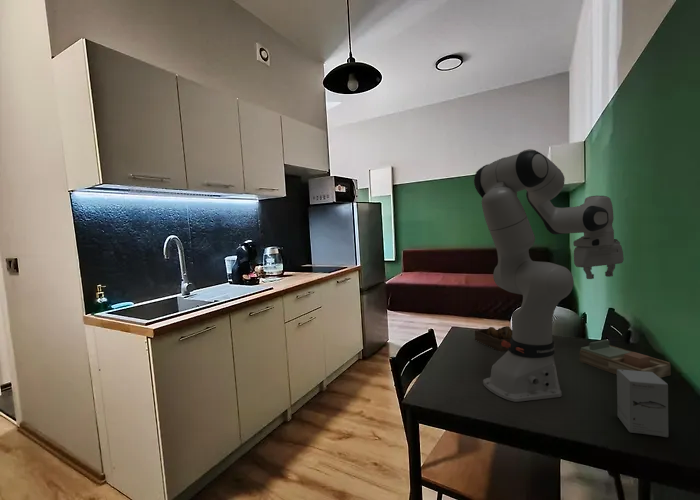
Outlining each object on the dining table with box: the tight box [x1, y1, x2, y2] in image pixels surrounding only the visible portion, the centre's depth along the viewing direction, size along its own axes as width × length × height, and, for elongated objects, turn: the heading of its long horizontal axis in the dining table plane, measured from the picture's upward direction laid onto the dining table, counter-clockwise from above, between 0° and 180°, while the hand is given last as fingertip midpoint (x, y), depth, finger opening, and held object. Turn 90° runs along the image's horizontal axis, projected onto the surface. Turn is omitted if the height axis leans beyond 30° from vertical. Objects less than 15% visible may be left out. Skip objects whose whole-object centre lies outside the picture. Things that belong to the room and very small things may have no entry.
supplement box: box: [616, 369, 669, 438], centre depth 78 cm, size 7×7×13 cm
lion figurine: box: [487, 325, 512, 340], centre depth 139 cm, size 15×5×9 cm, turn 26°
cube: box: [624, 351, 651, 369], centre depth 106 cm, size 4×4×5 cm
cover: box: [580, 338, 631, 359], centre depth 116 cm, size 10×10×3 cm
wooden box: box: [579, 344, 672, 379], centre depth 111 cm, size 14×19×4 cm
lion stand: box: [474, 327, 512, 353], centre depth 140 cm, size 8×16×4 cm, turn 16°
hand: (599, 277), depth 121 cm, fingers open, 8 cm apart
